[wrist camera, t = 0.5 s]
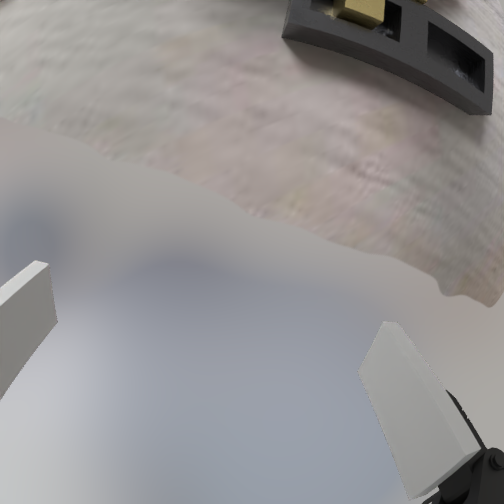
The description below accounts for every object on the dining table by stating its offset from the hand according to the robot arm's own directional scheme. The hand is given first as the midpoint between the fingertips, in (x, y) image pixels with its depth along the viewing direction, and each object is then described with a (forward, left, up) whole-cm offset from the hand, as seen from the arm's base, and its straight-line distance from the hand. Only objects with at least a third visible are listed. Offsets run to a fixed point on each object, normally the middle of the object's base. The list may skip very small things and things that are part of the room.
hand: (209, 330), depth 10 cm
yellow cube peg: (-26, +10, -25) cm, 38 cm away
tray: (-27, +17, -26) cm, 41 cm away
